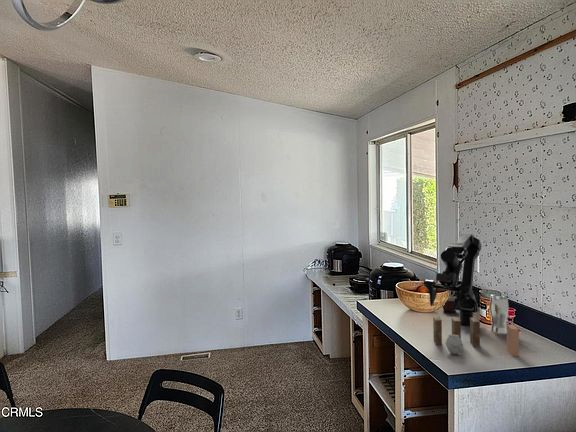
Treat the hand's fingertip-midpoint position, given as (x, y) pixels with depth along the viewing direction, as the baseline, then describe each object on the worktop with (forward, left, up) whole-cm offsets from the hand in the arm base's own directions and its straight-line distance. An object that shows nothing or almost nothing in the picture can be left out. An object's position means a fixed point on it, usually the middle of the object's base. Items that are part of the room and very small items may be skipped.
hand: (442, 308), depth 157 cm
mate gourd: (-45, 0, -15) cm, 48 cm away
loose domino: (+1, +25, -14) cm, 28 cm away
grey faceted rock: (+9, +5, -15) cm, 18 cm away
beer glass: (-22, +21, -15) cm, 34 cm away
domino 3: (-3, +12, -14) cm, 19 cm away
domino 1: (0, -2, -14) cm, 14 cm away
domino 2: (-2, +5, -14) cm, 15 cm away
